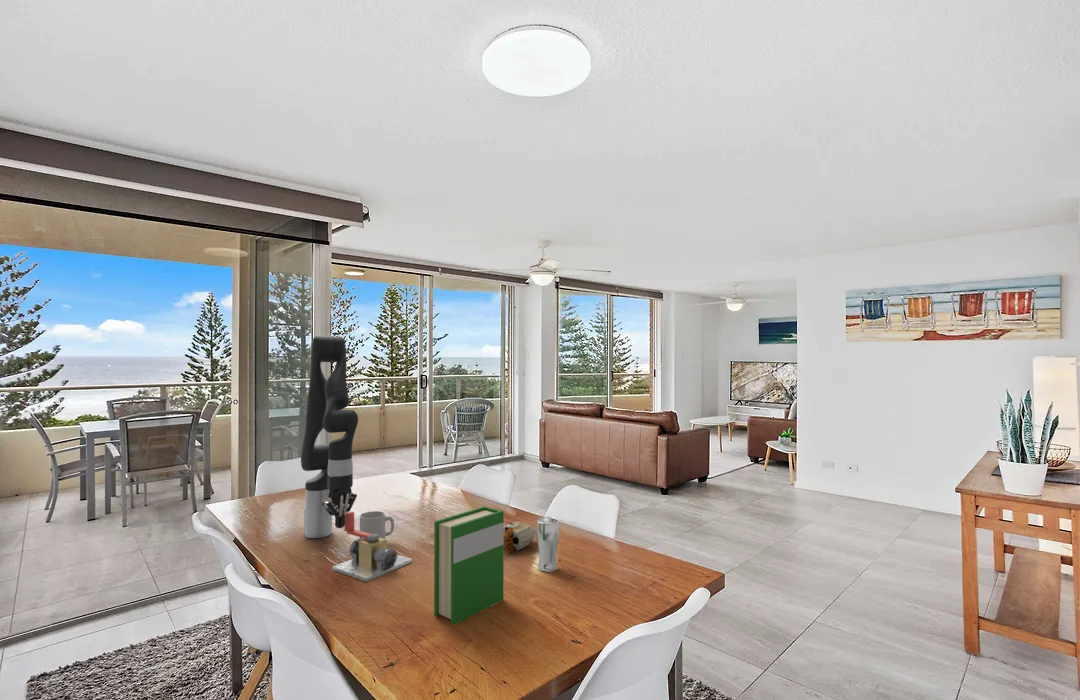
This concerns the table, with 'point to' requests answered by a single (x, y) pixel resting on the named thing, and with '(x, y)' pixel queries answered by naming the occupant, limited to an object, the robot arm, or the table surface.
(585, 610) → the table surface
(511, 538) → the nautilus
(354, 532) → the lever
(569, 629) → the table surface
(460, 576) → the hardback book
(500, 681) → the table surface
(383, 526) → the mug
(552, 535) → the beer glass
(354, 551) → the valve body
